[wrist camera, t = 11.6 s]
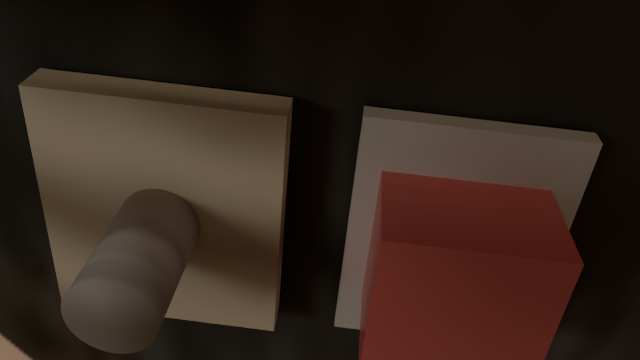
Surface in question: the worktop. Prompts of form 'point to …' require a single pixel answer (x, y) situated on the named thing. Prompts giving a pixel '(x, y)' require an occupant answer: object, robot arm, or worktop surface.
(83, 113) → the post stand
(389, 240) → the red cuboid block
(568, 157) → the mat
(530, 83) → the worktop surface
